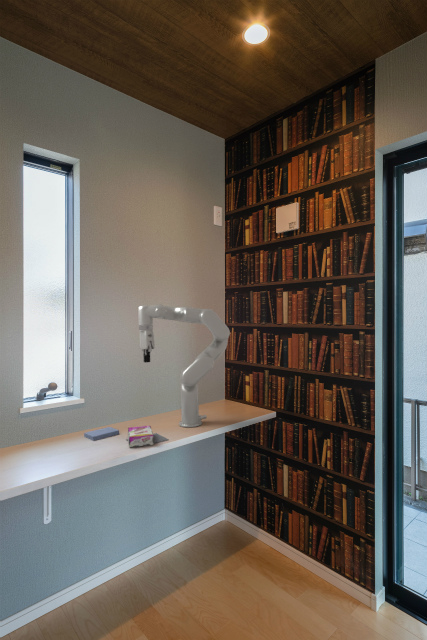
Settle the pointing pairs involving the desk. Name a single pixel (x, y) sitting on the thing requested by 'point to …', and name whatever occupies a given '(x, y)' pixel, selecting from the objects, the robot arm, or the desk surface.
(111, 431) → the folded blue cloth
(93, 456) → the desk surface
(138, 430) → the candy bar box
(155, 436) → the mat
